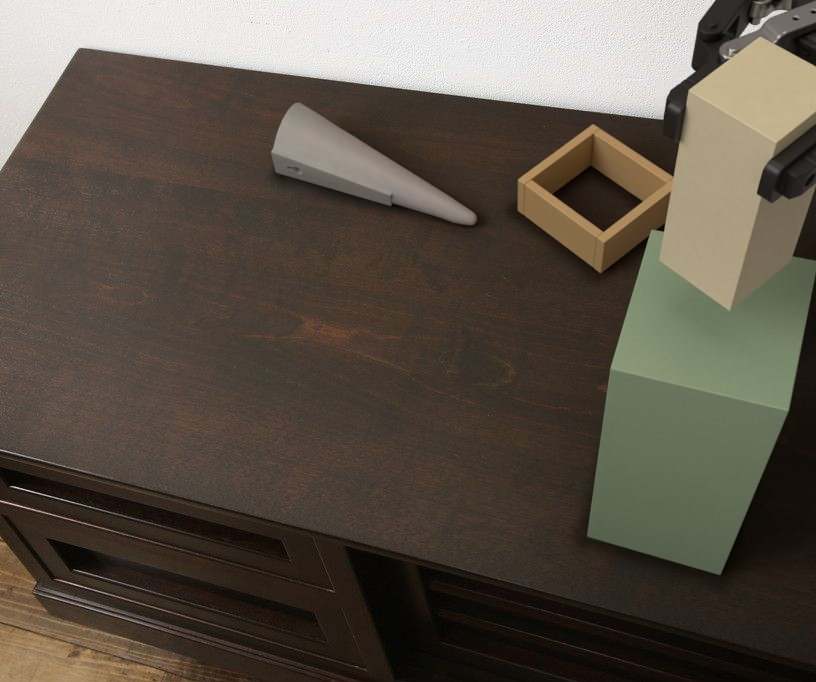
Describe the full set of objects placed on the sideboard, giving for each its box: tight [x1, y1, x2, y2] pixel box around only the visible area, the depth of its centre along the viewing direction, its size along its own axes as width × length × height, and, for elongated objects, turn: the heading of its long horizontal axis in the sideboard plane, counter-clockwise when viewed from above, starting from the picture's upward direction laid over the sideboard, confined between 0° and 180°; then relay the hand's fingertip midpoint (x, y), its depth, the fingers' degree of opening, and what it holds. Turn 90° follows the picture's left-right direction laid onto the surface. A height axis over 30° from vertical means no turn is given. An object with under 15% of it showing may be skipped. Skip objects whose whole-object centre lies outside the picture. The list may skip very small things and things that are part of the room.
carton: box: [659, 37, 816, 311], centre depth 51 cm, size 5×5×12 cm
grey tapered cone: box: [270, 102, 478, 227], centre depth 96 cm, size 6×6×19 cm
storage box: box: [517, 124, 674, 274], centre depth 90 cm, size 10×9×4 cm
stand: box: [586, 229, 816, 576], centre depth 68 cm, size 9×10×22 cm
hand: (718, 153), depth 47 cm, fingers closed on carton, 4 cm apart
